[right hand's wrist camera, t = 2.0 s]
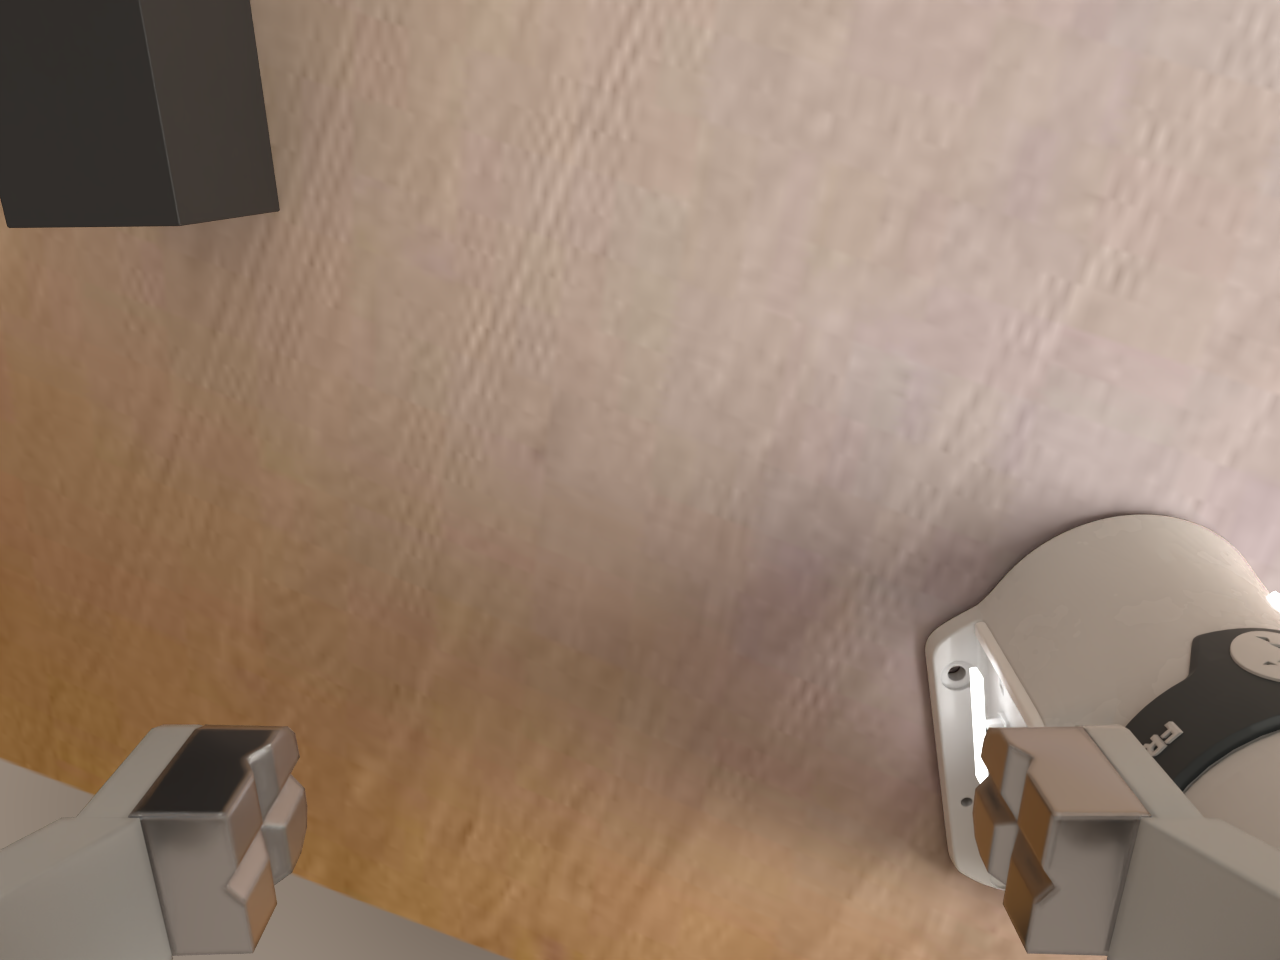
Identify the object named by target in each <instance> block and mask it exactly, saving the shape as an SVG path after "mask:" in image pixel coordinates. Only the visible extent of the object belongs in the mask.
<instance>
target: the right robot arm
mask: <svg viewBox="0 0 1280 960" xmlns="http://www.w3.org/2000/svg"><path fill="white" fill-rule="evenodd" d="M925 656H926V665H927V673H928V682H929V691H930V699H931V708H932V717H933V726H934V734H935V743H936V752H937V760H938V769H939V778H940V787H941V795H942V804H943V813H944V822H945V830H946V838H947V846H948V852H949V856H950V859H951V860H952V862H953V864H954V865H955V867H956V869H957V870H958V871H959V872H960V873H962V874H963V875H965V876H967V877H969V878H971V879H973V880H975V881H977V882H979V883H981V884H984V885H987V886H990V887H992V888H995V889H999V890H1003V891H1005V894H1004V900H1003V905H1004V907H1005V909H1006V911H1007V913H1008V915H1009V917H1010V919H1011V921H1012V923H1013V925H1014V927H1015V929H1016V932H1017V934H1018V936H1019V938H1020V940H1021V942H1022V944H1023V946H1024V948H1025V950H1026V952H1027V953H1034V954H1069V955H1104V956H1108V957H1107V960H1280V594H1278V593H1277V592H1276V591H1274V592H1273V593H1271V594H1270V593H1269V592H1268V590H1267V589H1266V588H1265V586H1264V585H1263V584H1262V582H1261V581H1260V580H1259V578H1258V577H1257V575H1256V574H1255V573H1254V571H1253V570H1252V568H1251V567H1250V565H1249V564H1248V562H1247V561H1246V560H1245V558H1244V557H1243V556H1242V555H1241V554H1240V552H1239V551H1238V550H1237V549H1236V548H1235V547H1234V546H1233V545H1231V544H1230V543H1229V542H1228V541H1226V540H1225V539H1224V538H1223V537H1221V536H1220V535H1218V534H1216V533H1215V532H1213V531H1211V530H1209V529H1207V528H1205V527H1203V526H1201V525H1198V524H1196V523H1193V522H1190V521H1187V520H1183V519H1179V518H1175V517H1170V516H1163V515H1151V514H1136V515H1123V516H1116V517H1110V518H1105V519H1101V520H1097V521H1093V522H1090V523H1087V524H1084V525H1081V526H1078V527H1075V528H1073V529H1071V530H1068V531H1066V532H1064V533H1062V534H1060V535H1058V536H1056V537H1054V538H1052V539H1051V540H1049V541H1047V542H1045V543H1044V544H1042V545H1041V546H1039V547H1038V548H1036V549H1035V550H1033V551H1032V552H1031V553H1029V554H1028V555H1027V556H1026V557H1024V558H1023V559H1022V560H1021V561H1020V562H1019V563H1017V564H1016V565H1015V566H1014V567H1013V568H1012V569H1011V570H1010V571H1009V572H1008V573H1007V574H1006V575H1005V576H1004V578H1003V579H1002V580H1001V581H1000V582H999V583H998V584H997V586H996V587H995V588H994V589H993V590H992V591H991V592H990V593H989V594H988V595H987V596H986V597H985V598H984V599H983V600H982V601H981V602H980V603H979V604H978V605H976V606H975V607H973V608H971V609H969V610H967V611H965V612H963V613H961V614H959V615H957V616H956V617H954V618H952V619H950V620H949V621H947V622H945V623H944V624H942V625H941V626H939V627H938V628H937V629H936V630H934V631H933V632H932V633H931V635H930V636H929V637H928V639H927V641H926V645H925ZM955 666H961V667H960V669H959V670H958V671H957V672H955V673H948V672H949V670H950V669H951V668H952V667H955ZM299 757H300V756H299V751H298V746H297V741H296V736H295V733H294V732H293V731H292V730H291V729H290V728H289V727H288V726H242V725H204V726H202V725H161V726H158V727H155V728H152V729H151V730H150V731H149V732H148V733H147V735H146V736H145V737H144V738H143V739H142V740H141V742H140V743H139V744H138V745H137V746H136V748H135V749H134V750H133V751H132V752H131V753H130V755H129V756H128V757H127V758H126V759H125V760H124V762H123V763H122V764H121V765H120V766H119V767H118V769H117V770H116V771H115V772H114V773H113V774H112V776H111V777H110V778H109V779H108V780H107V781H106V783H105V784H104V785H103V786H102V787H101V788H100V790H99V791H98V792H97V793H96V794H95V795H94V797H93V798H92V799H91V800H90V801H89V803H88V804H87V805H86V806H85V807H84V808H83V810H82V811H81V812H80V813H79V814H78V815H77V817H76V818H60V819H58V820H56V821H54V822H52V823H51V824H49V825H47V826H45V827H43V828H41V829H39V830H37V831H35V832H33V833H31V834H30V835H28V836H26V837H24V838H22V839H20V840H18V841H16V842H14V843H12V844H10V845H9V846H7V847H5V848H3V849H1V850H0V960H173V957H172V956H175V955H210V954H244V953H253V952H254V950H255V948H256V946H257V944H258V942H259V940H260V938H261V936H262V934H263V932H264V930H265V927H266V925H267V923H268V921H269V919H270V917H271V915H272V913H273V911H274V909H275V907H276V905H277V900H276V895H275V889H274V885H276V884H277V883H278V882H280V881H281V880H283V879H284V878H285V877H287V876H288V875H289V874H291V873H292V872H293V870H294V867H295V865H296V863H297V861H298V859H299V856H300V854H301V851H302V847H303V842H304V838H305V833H306V829H307V801H306V794H305V788H304V787H303V786H302V785H301V784H300V783H299V782H298V781H297V780H296V779H295V778H294V777H293V776H292V775H291V772H292V770H293V768H294V766H295V765H296V763H297V761H298V759H299Z"/></svg>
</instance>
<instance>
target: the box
mask: <svg viewBox="0 0 1280 960" xmlns="http://www.w3.org/2000/svg"><path fill="white" fill-rule="evenodd" d="M0 198H1V203H2V207H3V211H4V215H5V219H6V223H7V226H8V227H9V228H44V227H132V226H182V225H189V224H196V223H202V222H209V221H216V220H223V219H229V218H236V217H243V216H250V215H256V214H263V213H270V212H276V211H279V203H278V196H277V189H276V182H275V175H274V168H273V161H272V154H271V147H270V140H269V133H268V126H267V119H266V112H265V105H264V98H263V91H262V84H261V77H260V70H259V63H258V56H257V49H256V42H255V35H254V28H253V21H252V14H251V7H250V0H0Z"/></svg>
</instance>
